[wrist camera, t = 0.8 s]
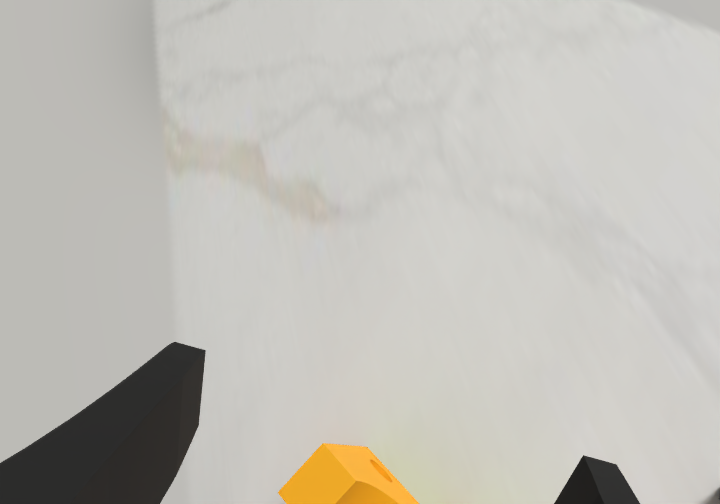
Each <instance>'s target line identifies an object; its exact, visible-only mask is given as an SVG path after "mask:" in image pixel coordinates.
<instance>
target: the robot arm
mask: <svg viewBox="0 0 720 504" xmlns="http://www.w3.org/2000/svg"><path fill="white" fill-rule="evenodd" d="M205 351H206V350H202V349H198V348H195V347H191V346H188V345H184V344H180V343H177V342H173V343H171V344H169V345H168V346H167V347H165V348H164V349H163V350H162V351H160V352H159V353H158V354H157V355H155V356H154V357H153V358H152V359H150V360H149V361H148V362H147V363H145V364H144V365H143V366H142V367H140V368H139V369H138V370H137V371H135V372H134V373H132V374H131V375H130V376H129V377H127V378H126V379H125V380H123V381H122V382H121V383H119V384H118V385H117V386H115V387H114V388H113V389H111V390H110V391H109V392H107V393H106V394H104V395H103V396H102V397H100V398H99V399H97V400H96V401H95V402H93V403H92V404H91V405H89V406H88V407H86V408H85V409H83V410H82V411H81V412H79V413H78V414H76V415H75V416H74V417H72V418H71V419H69V420H68V421H66V422H65V423H63V424H61V425H60V426H58V427H57V428H55V429H54V430H52V431H51V432H49V433H48V434H46V435H45V436H43V437H42V438H40V439H39V440H37V441H35V442H34V443H32V444H31V445H29V446H28V447H26V448H25V449H23V450H21V451H20V452H18V453H16V454H15V455H13V456H11V457H10V458H8V459H6V460H5V461H3V462H1V463H0V504H160V503H161V501H162V499H163V497H164V496H165V494H166V492H167V491H168V489H169V487H170V485H171V484H172V482H173V480H174V478H175V477H176V475H177V473H178V470H179V468H180V466H181V464H182V462H183V460H184V457H185V455H186V453H187V451H188V448H189V446H190V444H191V442H192V439H193V437H194V435H195V432H196V430H197V428H198V425H199V415H200V404H201V393H202V383H203V372H204V361H205ZM554 504H640V503H639V501H638V500H637V498H636V496H635V494H634V493H633V491H632V489H631V488H630V486H629V484H628V483H627V481H626V479H625V478H624V476H623V475H622V473H621V471H620V470H619V468H618V466H617V465H616V464H613V463H609V462H605V461H602V460H598V459H595V458H591V457H587V456H584V455H583V457H582V458H581V460H580V462H579V463H578V465H577V467H576V468H575V470H574V472H573V473H572V475H571V477H570V478H569V480H568V482H567V483H566V485H565V487H564V488H563V490H562V492H561V493H560V495H559V497H558V498H557V500H556V502H555V503H554Z"/></svg>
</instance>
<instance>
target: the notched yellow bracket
mask: <svg viewBox="0 0 720 504" xmlns="http://www.w3.org/2000/svg"><path fill="white" fill-rule="evenodd" d="M278 493H279V495H280V496H281V497H282V498H283V500H284V501H285V502H286V503H287V504H419V503H418V502H417V501H416V500H415V499H414V497H413V496H412V495H411V494H410V493H409V492H408V491H407V490H406V489H405V488H404V487H403V485H402V484H401V483H400V482H399V481H398V480H397V479H396V478H395V477H394V476H393V475H392V474H391V472H390V471H389V470H388V469H387V468H386V467H385V466H384V465H383V464H382V463H381V462H380V460H379V459H378V458H377V457H376V456H375V455H374V454H373V453H372V452H371V451H370V450H369V449H368V447H361V446H349V445H337V444H326V443H323V444H322V445H321V446H320V447H319V448H318V449H317V450H316V451H315V452H314V454H313V455H312V456H311V457H310V458H309V459H308V460H307V461H306V462H305V463H304V464H303V466H302V467H301V468H300V469H299V470H298V471H297V472H296V473H295V474H294V475H293V476H292V478H291V479H290V480H289V481H288V482H287V483H286V484H285V485H284V486H283V487H282V489H281V490H280V491H279V492H278Z"/></svg>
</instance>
